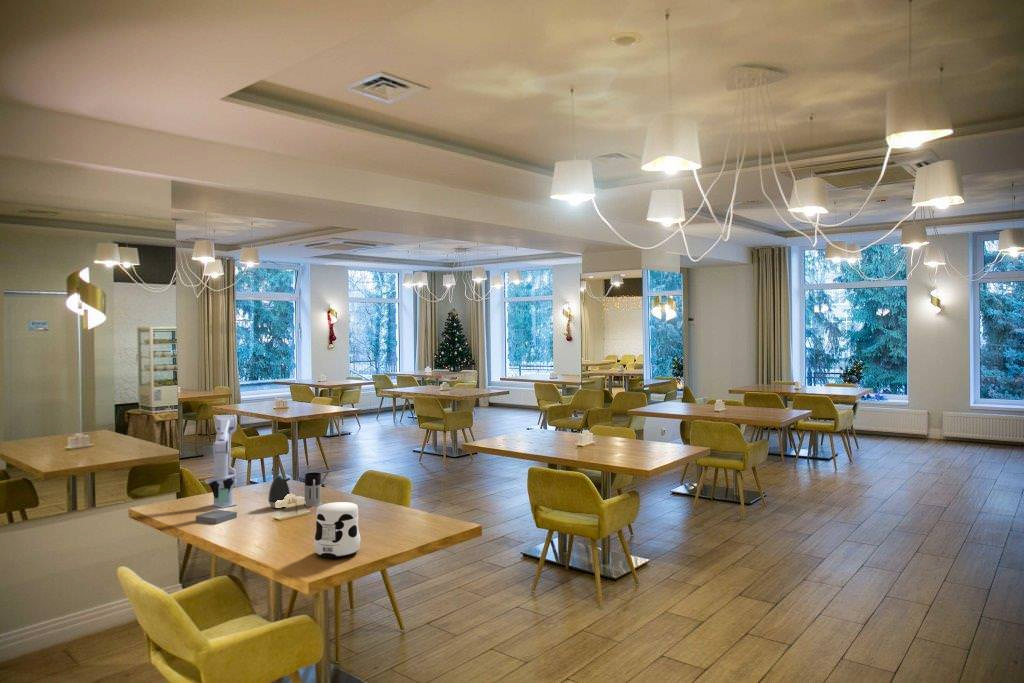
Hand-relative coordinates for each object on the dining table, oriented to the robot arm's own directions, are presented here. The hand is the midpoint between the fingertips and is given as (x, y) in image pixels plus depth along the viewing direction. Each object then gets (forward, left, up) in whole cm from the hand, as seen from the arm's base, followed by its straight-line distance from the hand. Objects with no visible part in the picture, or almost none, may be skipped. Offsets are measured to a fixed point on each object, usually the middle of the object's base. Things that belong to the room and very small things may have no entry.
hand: (221, 496), depth 314 cm
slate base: (+3, -4, -9) cm, 10 cm away
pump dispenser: (+7, +26, -9) cm, 29 cm away
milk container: (+85, -2, -9) cm, 85 cm away
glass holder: (+17, +38, -9) cm, 43 cm away
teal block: (0, 0, -3) cm, 3 cm away
